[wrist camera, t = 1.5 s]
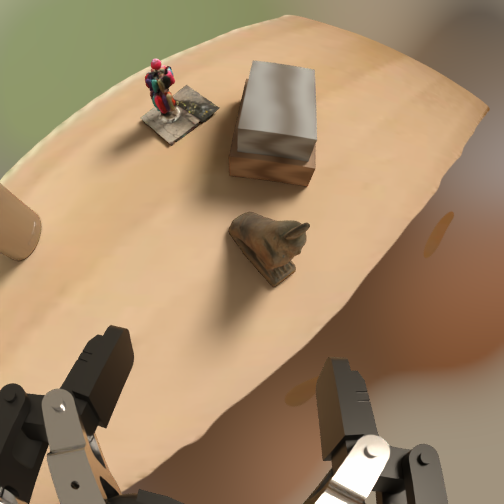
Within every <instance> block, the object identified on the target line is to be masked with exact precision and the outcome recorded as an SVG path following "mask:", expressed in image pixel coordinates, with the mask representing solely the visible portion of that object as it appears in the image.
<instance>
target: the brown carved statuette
mask: <svg viewBox="0 0 504 504" xmlns="http://www.w3.org/2000/svg"><path fill="white" fill-rule="evenodd" d="M309 227H310V224H309V223H304V224H301V223H299V222H297V221H275V220H272V219H269V218H265V217H263V216H261V215H258V214H255V213H253V212H248V213H244V214H242V215H240V216H239V217H237V218H236V219H234V220H233V221H232V223H231V226H230V228H229V234H230V235H231V236H232V238H233V239H234V241H235V242H236V243H237V245H238V246H239V247H240V249H241V250H242V252H243V254H244V255H245V256H246V257H247V258H248V259H249V260H250V262H251V263H252V264H253V265H254V266H255V267H256V269H257V270H258V272H260V273H261V274H262V275H263V276H264V277H265V278H266V279H267V281H268V282H269V283H270V284H271V285H272V286H273V287H276V286H277V285H278V284H280V283H281V282H282V281H283V280H284V279H286V278H287V277H288V276H290V275H291V274H293V273H294V272H295V271H296V267H295V265H294V264H293V262H292V261H291V259H292V258H293V257H294V256H296V255H298V254H300V253H301V249H302V247H303V246H304V245H305V243H306V231H307V230H308V228H309Z"/></svg>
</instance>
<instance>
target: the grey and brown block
mask: <svg viewBox="0 0 504 504" xmlns="http://www.w3.org/2000/svg"><path fill="white" fill-rule="evenodd" d="M316 141H317V119H316V88H315V70H313V69H308V68H302V67H296V66H290V65H284V64H277V63H269V62H261V61H253V62H252V67H251V71H250V75H249V79H246V82H245V86H244V90H243V95H242V99H241V104H240V108H239V113H238V117H237V122H236V126H235V131H234V136H233V140H232V145H231V150H230V155H229V171H230V176H237V177H246V178H254V179H261V180H269V181H276V182H283V183H289V184H296V185H302V186H308V184H309V182H310V180H311V177H312V175H313V173H314V171H315V143H316Z"/></svg>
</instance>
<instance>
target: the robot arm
mask: <svg viewBox="0 0 504 504" xmlns="http://www.w3.org/2000/svg"><path fill="white" fill-rule="evenodd" d="M40 233H41V221H40V218H39V216H38V215H37V214H36V213H35V212H34V211H33V210H31V209H30V208H29V207H28V206H27V205H25V204H24V203H23V202H22V201H21V200H19V199H18V198H17V197H16V196H15V195H13V194H12V193H11V192H10V191H9V190H8V189H6V188H5V187H4V186H3V185H2V184H1V183H0V253H2V254H4V255H6V256H8V257H10V258H12V259H14V260H17V261H18V260H23V259H25V258H26V257H28V256H29V255H30V254H31V253H32V252H33V250H34V249H35V247H36V245H37V243H38V240H39V238H40ZM133 362H134V353H133V348H132V344H131V339H130V334H129V331H128V329H126V328H121V327H117V326H113V325H110V326H109V327H108V328H107V330H106V331H105V333H104V335H103V336H102V335H96V336H95V337H94V338H92V339H91V340H90V341H88V343H87V345H86V346H85V348H84V349H83V352H82V353H81V354H80V356H79V358H78V360H77V361H76V362H75V364H74V366H73V367H72V369H71V371H70V373H69V374H68V376H67V378H66V379H65V381H64V383H63V385H62V386H61V387H60V389H54V390H51V391H49V392H48V393H47V394H46V395H36V394H27V393H26V392H25V391H24V389H23V388H22V387H21V386H20V385H18V384H8V385H6V386H4V387H3V388H2V389H1V390H0V504H29V502H30V499H31V495H32V492H33V489H34V486H35V482H36V479H37V476H38V473H39V470H40V467H41V464H42V462H43V459H44V456H45V453H46V451H47V448H48V445H49V446H50V453H48V454H47V462H48V466H49V469H50V473H51V476H52V480H53V483H54V486H55V489H56V492H57V495H58V498H59V501H60V504H184V503H181V502H179V501H177V500H174V499H172V498H170V497H168V496H163V495H159V494H155V493H152V492H148V491H144V490H141V489H139V491H138V494H136V493H132V494H122V493H121V491H120V488H119V486H118V485H117V483H116V481H115V479H114V478H113V476H112V474H111V473H110V471H109V468H108V466H107V463H106V461H105V458H104V456H103V453H102V451H101V448H100V445H99V442H98V439H97V437H96V434H95V431H96V428H97V426H101V427H104V428H107V425H108V423H109V420H110V418H111V415H112V413H113V411H114V408H115V406H116V403H117V401H118V399H119V396H120V394H121V392H122V389H123V387H124V385H125V382H126V380H127V378H128V375H129V373H130V371H131V369H132V366H133ZM316 399H317V407H318V417H319V426H320V436H321V447H322V458H323V461H331V460H332V468H331V469H330V470H329V472H328V473H327V474H326V476H325V477H324V478H323V480H322V481H321V482H320V484H319V485H318V486H317V487H316V489H315V490H314V491H313V492H312V493H311V495H310V496H309V497H308V498H307V499H306V501H305V502H304V503H303V504H365V499H366V497H367V496H368V494H369V492H370V491H376V501H377V502H376V503H377V504H448V500H447V495H446V489H445V484H444V479H443V474H442V469H441V465H440V460H439V456H438V453H437V451H436V450H435V449H434V448H433V447H432V446H430V445H427V444H419V445H417V446H415V447H414V448H413V449H412V450H409V449H402V448H396V447H392V446H389V445H388V443H387V442H386V441H385V440H384V439H383V438H381V437H379V435H378V432H377V428H376V424H375V419H374V415H373V411H372V407H371V404H370V402H369V400H370V399H369V395H368V393H367V388H366V384H365V380H364V379H363V378H362V376H361V375H360V374H359V372H358V371H351V370H350V366H349V362H348V359H347V358H336V357H335V358H334V357H328V358H327V360H326V362H325V364H324V367H323V369H322V371H321V374H320V376H319V378H318V380H317V384H316Z"/></svg>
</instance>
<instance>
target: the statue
mask: <svg viewBox="0 0 504 504" xmlns="http://www.w3.org/2000/svg"><path fill="white" fill-rule="evenodd" d="M151 67H152V69H151V72H148V73H147V74H146V76H145V82H146V86H147V87H148V88H149V89H150V91H151V92H150V96H151V99H152V101H153V104H154V106H155V107H154V108H153V109H151V110H150V111H149V112H147V113H146V114H145V115H143V116H142V117H141V119H142V121H143V122H145V124H146V125H147V124H148V125H149V126H150V127H151V128H152V129H154V130H155V131H156V133H158V135H160V136H162V137H163V138H164V139H165V140H166V141H167V142H168V144H171V146H172V145H173V144H175V143H174V141H175V142H177V141H178V140H177V139H179V138H183V137H184V136H185V135H186V134H187V133H189V132H190V131H192V130H193V129H194V128H195V127H197V126H198V124H199V123H198V122H199V121H200V122H201V123H202V122H203V121H204V122H206V121H207V119H209V118H210V115H212V114H213V113H214V112H216V111H217V110H218V109H219V107H217V106H216V105H214V104H213V103H212V102H210V101H209V100H207V99H206V98H204V97H203V96H201V95H200V94H199V93H197V92H196V91H194V90H193V89H192V88H190V87H189V86H187V85H186V86H185V87H183V88H182V89H180V90H179V91H178V92H177V93H176V94H174V95H173V96H172V94H171V92H169V89H168V88H169V87H170V86H171V85H172V84H174V83H175V79H174V77H173V73H172V70H171V67H169V66H167V67H165V66H164V65H163V66H161V62H160V60H158V59H153V60H152V62H151ZM191 128H192V129H191ZM179 140H180V139H179Z"/></svg>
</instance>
